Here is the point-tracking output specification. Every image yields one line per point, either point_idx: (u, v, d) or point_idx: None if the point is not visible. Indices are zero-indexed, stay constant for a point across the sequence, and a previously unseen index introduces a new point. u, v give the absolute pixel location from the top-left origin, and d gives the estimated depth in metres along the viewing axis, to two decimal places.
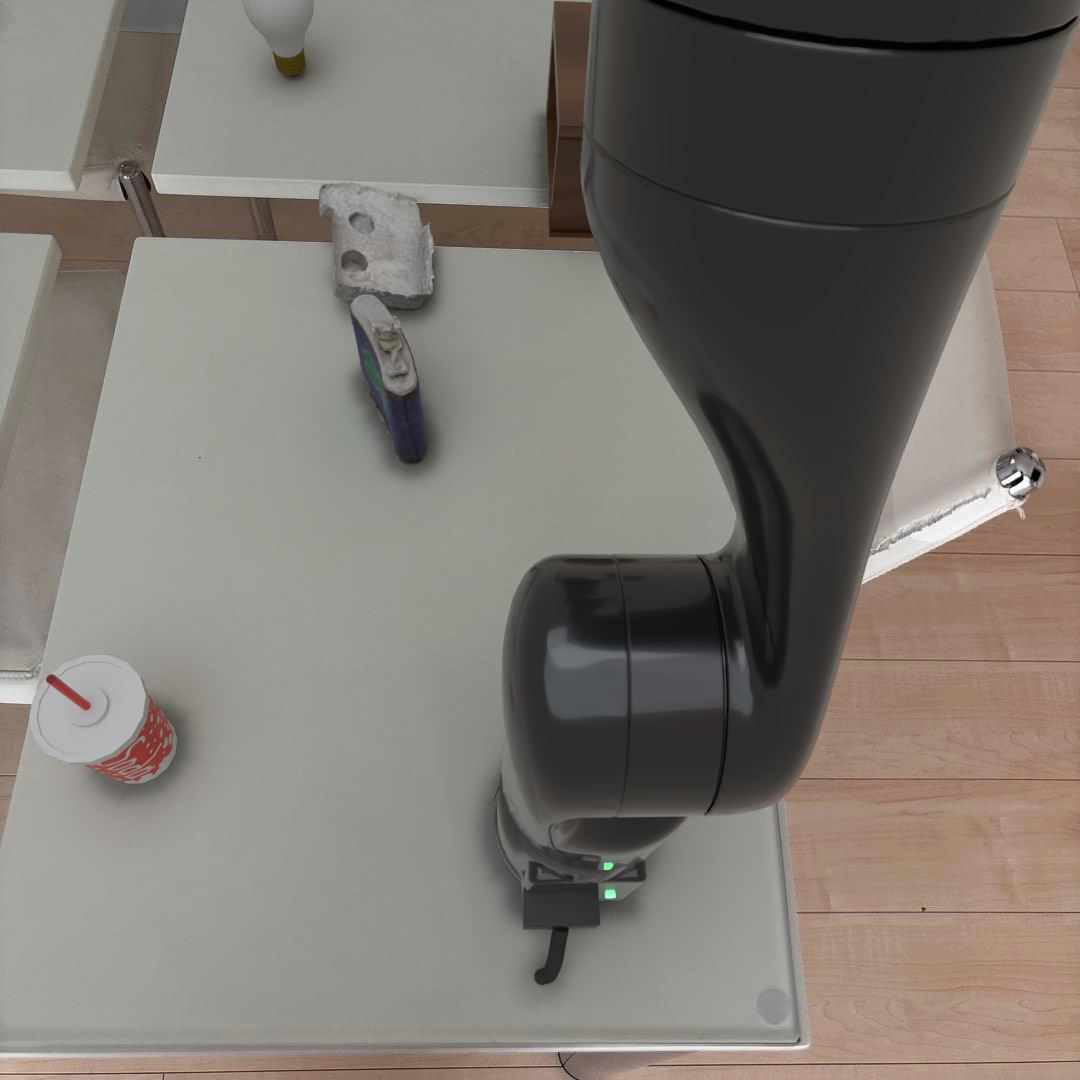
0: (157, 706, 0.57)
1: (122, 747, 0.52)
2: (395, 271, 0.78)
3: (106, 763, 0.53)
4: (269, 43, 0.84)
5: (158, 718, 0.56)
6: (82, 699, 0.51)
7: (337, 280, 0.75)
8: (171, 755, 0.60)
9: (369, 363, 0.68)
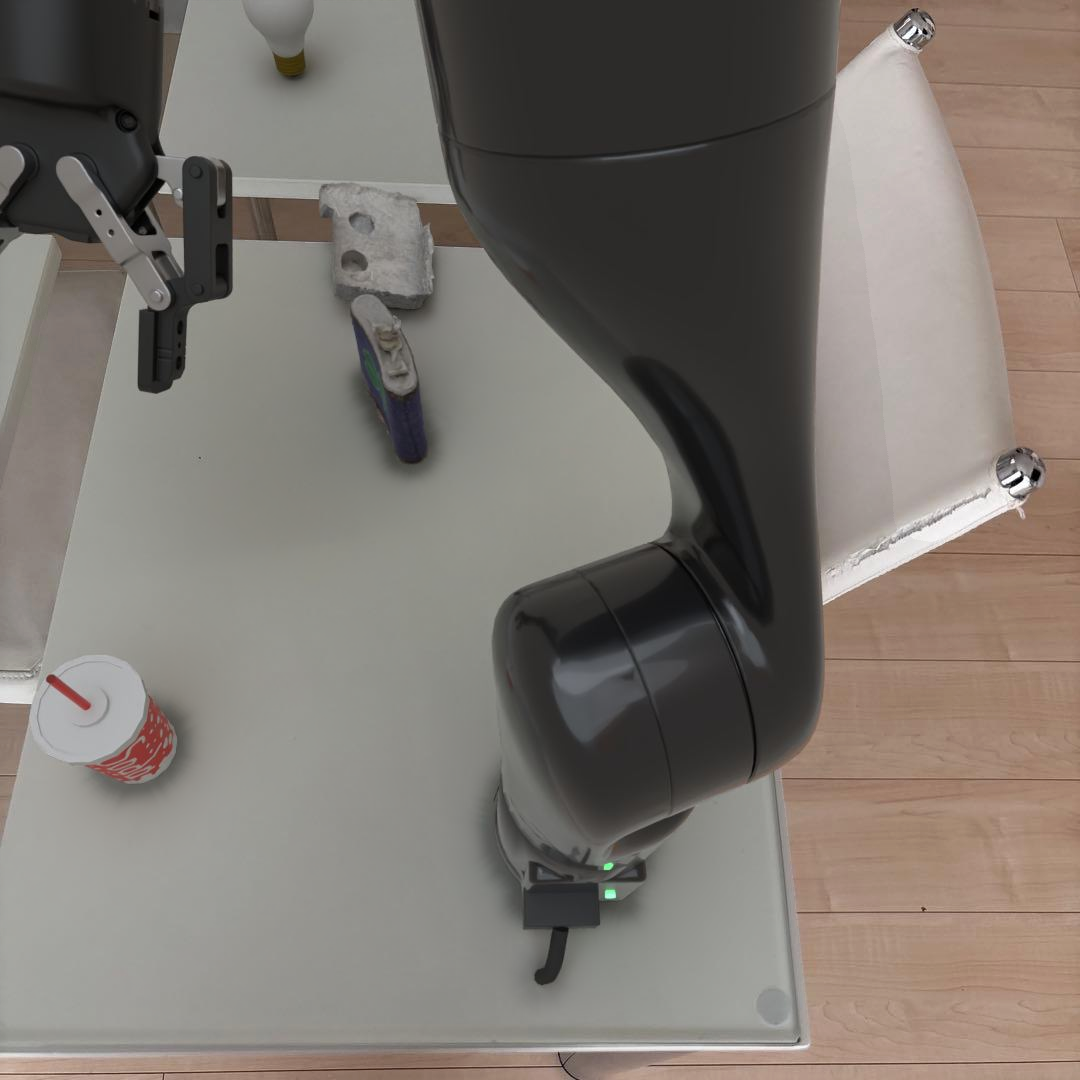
0: (157, 706, 0.57)
1: (122, 747, 0.52)
2: (395, 271, 0.78)
3: (106, 763, 0.53)
4: (269, 43, 0.84)
5: (158, 718, 0.56)
6: (82, 699, 0.51)
7: (337, 280, 0.75)
8: (171, 755, 0.60)
9: (369, 363, 0.68)
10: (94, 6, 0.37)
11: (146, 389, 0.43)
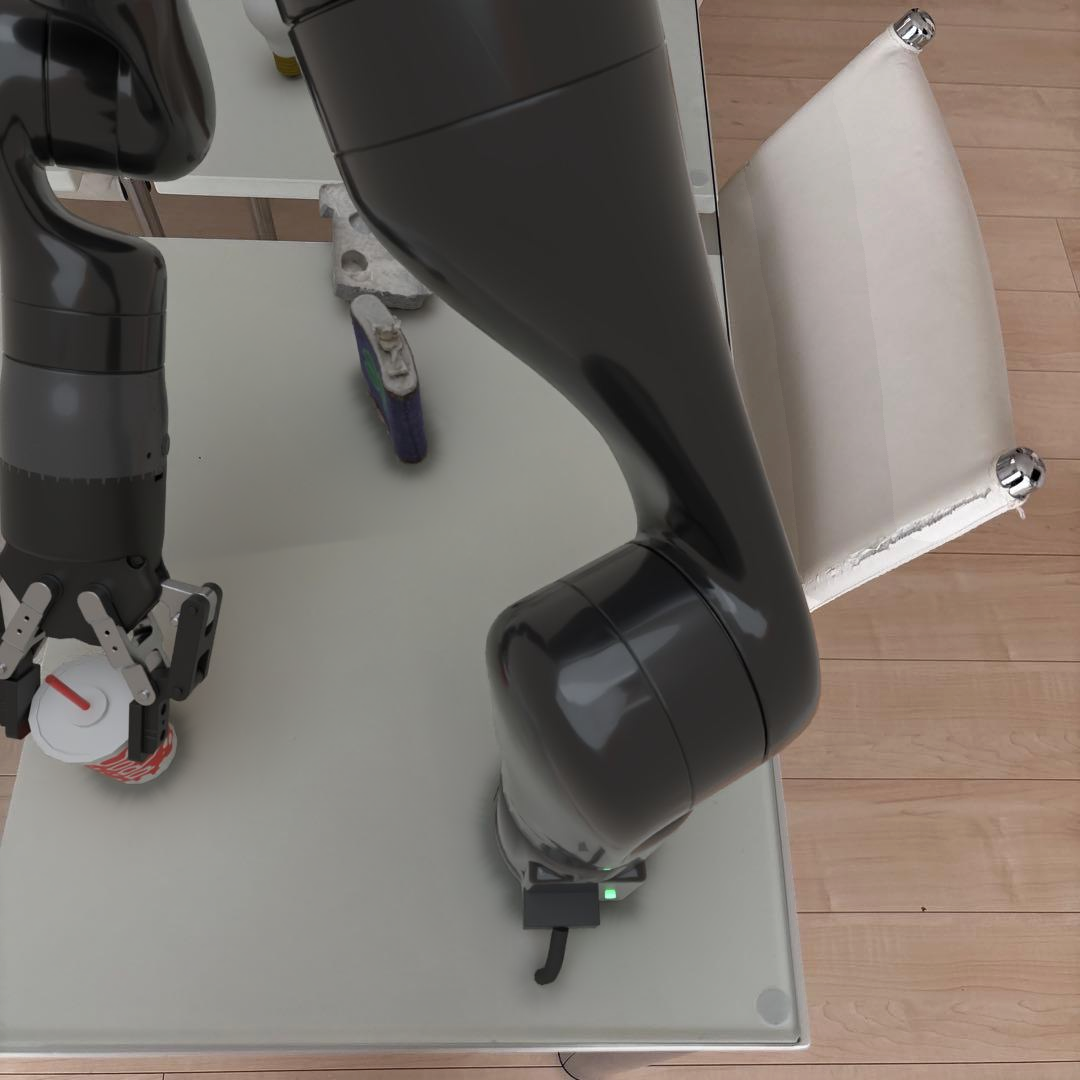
0: None
1: (121, 747, 0.52)
2: (395, 271, 0.78)
3: (106, 763, 0.53)
4: (269, 43, 0.84)
5: None
6: (81, 699, 0.51)
7: (337, 280, 0.75)
8: (171, 755, 0.60)
9: (369, 363, 0.68)
10: (110, 493, 0.45)
11: (135, 761, 0.52)
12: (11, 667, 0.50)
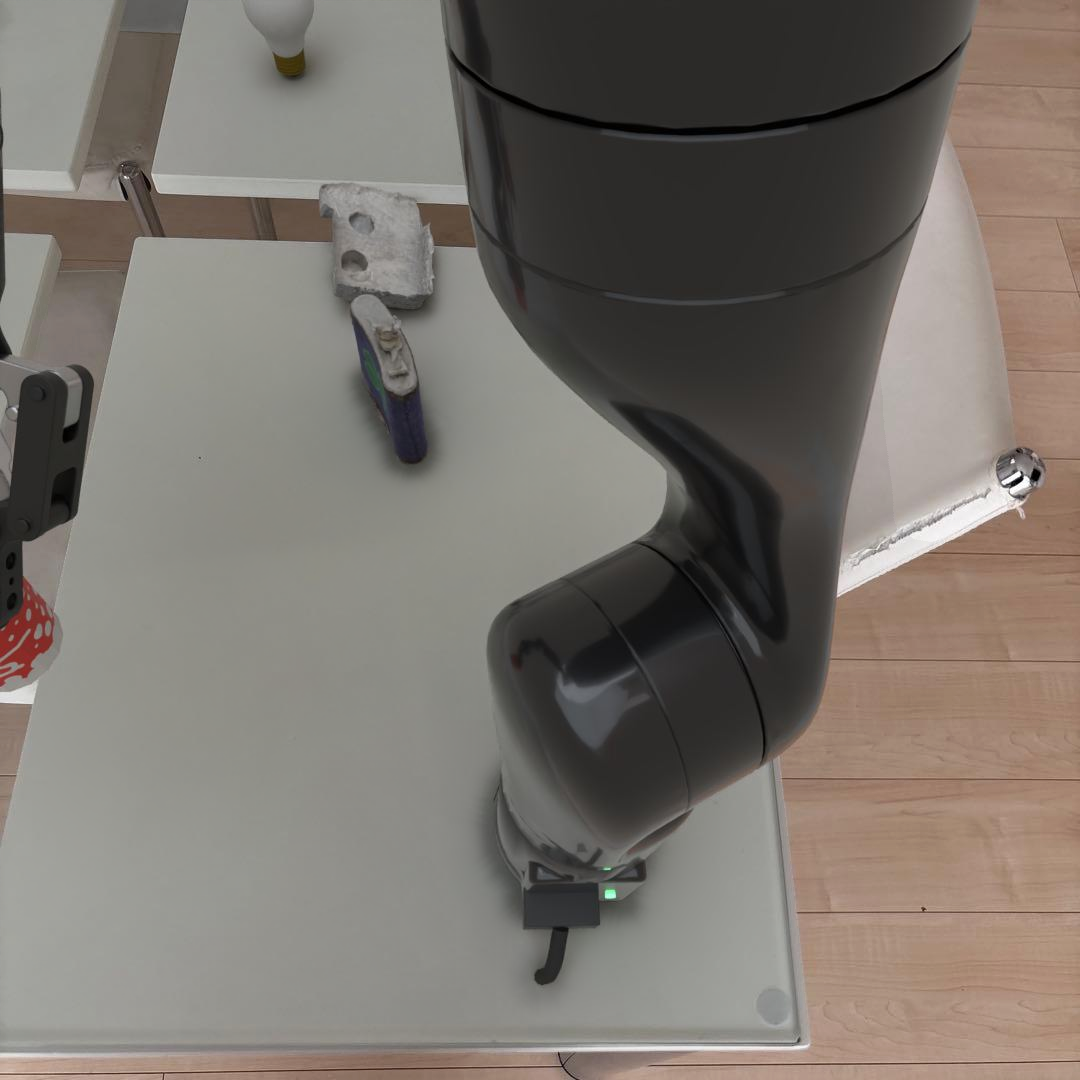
0: (24, 578, 0.41)
1: None
2: (395, 271, 0.78)
3: None
4: (269, 43, 0.84)
5: None
6: None
7: (337, 280, 0.75)
8: (51, 653, 0.43)
9: (369, 363, 0.68)
10: None
11: None
12: None
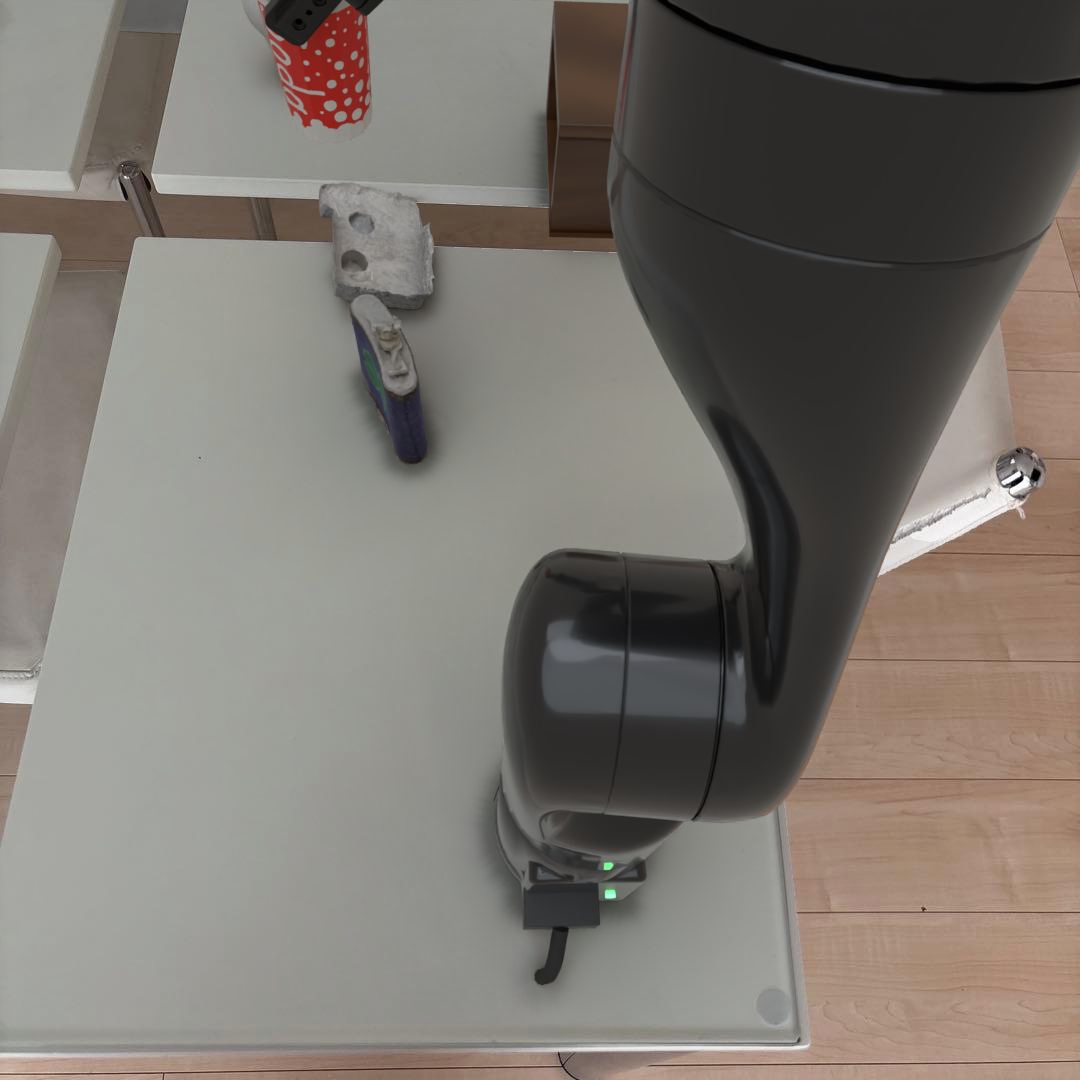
0: (357, 68, 0.51)
1: None
2: (395, 271, 0.78)
3: None
4: (269, 43, 0.84)
5: (340, 65, 0.50)
6: None
7: (337, 280, 0.75)
8: (329, 134, 0.54)
9: (369, 363, 0.68)
10: None
11: None
12: None
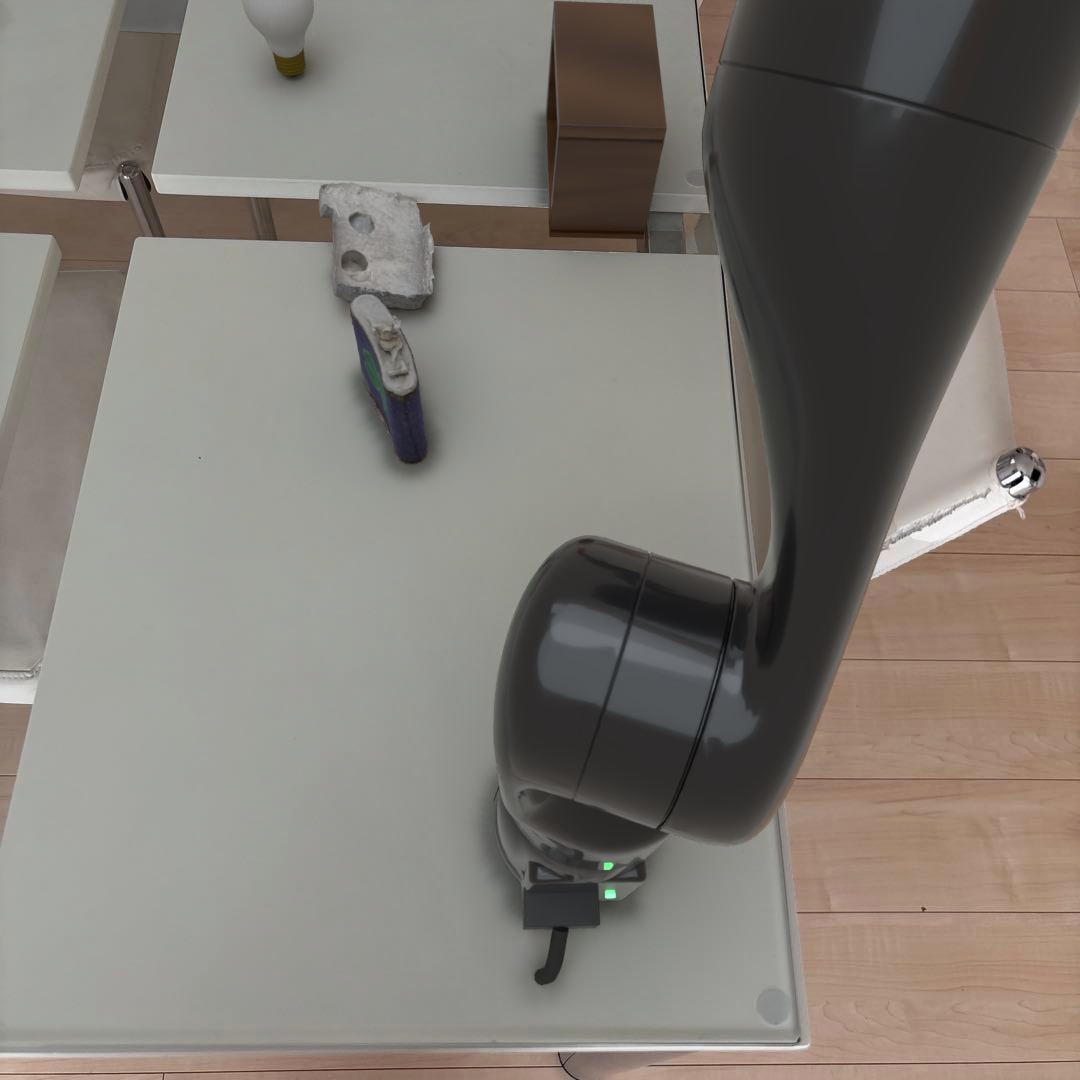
0: None
1: None
2: (395, 271, 0.78)
3: None
4: (269, 43, 0.84)
5: None
6: None
7: (337, 280, 0.75)
8: None
9: (369, 363, 0.68)
10: None
11: None
12: None
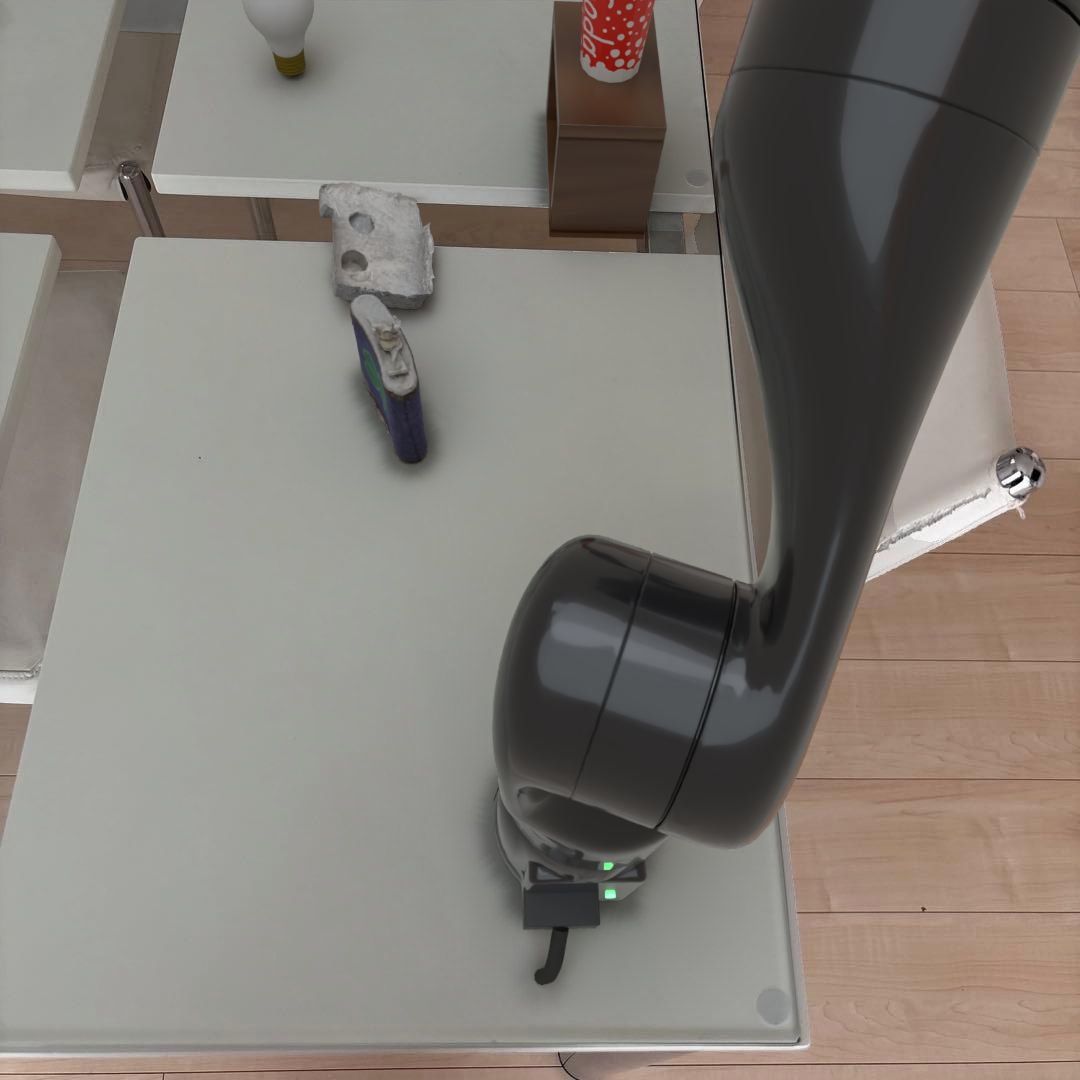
0: (641, 29, 0.69)
1: None
2: (395, 271, 0.78)
3: None
4: (269, 43, 0.84)
5: (631, 24, 0.68)
6: None
7: (337, 280, 0.75)
8: (607, 75, 0.72)
9: (369, 363, 0.68)
10: None
11: None
12: None
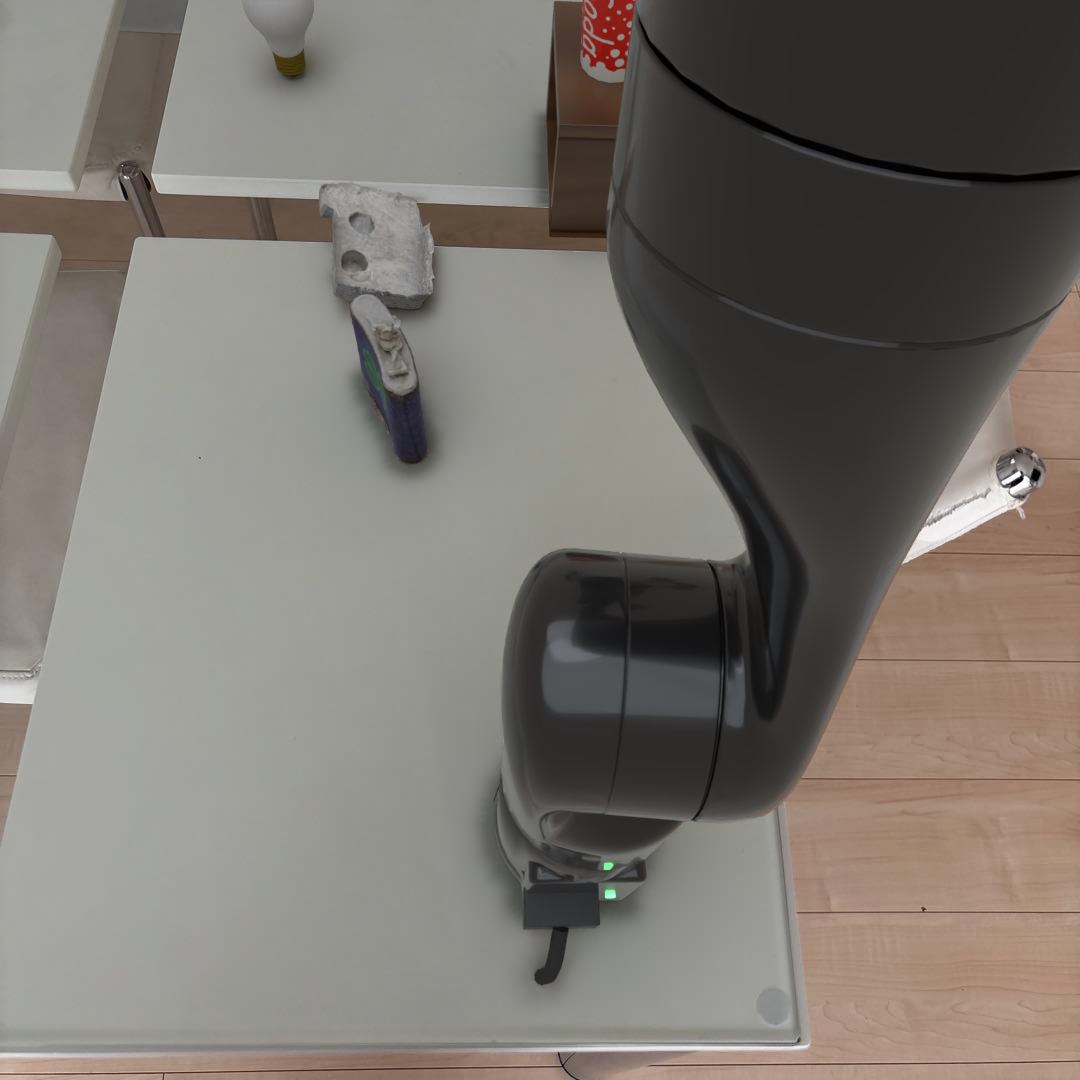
0: None
1: None
2: (395, 271, 0.78)
3: None
4: (269, 43, 0.84)
5: (631, 24, 0.68)
6: None
7: (337, 280, 0.75)
8: (607, 75, 0.72)
9: (369, 363, 0.68)
10: None
11: None
12: None
